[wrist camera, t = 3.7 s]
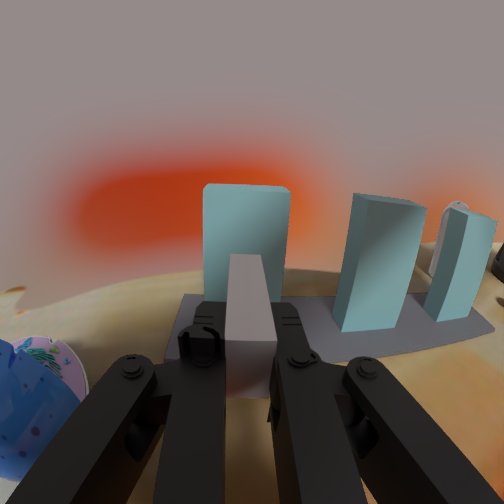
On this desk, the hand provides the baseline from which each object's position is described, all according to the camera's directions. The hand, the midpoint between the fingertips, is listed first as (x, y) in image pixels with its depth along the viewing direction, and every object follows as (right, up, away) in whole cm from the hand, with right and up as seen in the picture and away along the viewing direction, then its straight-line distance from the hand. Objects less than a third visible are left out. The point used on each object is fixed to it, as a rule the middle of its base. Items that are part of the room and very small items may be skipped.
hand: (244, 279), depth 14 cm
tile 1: (+23, -6, +11) cm, 27 cm away
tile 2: (+11, -5, +11) cm, 17 cm away
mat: (+11, -6, +11) cm, 17 cm away
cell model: (-13, -10, -4) cm, 17 cm away
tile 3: (-1, -5, +10) cm, 11 cm away
